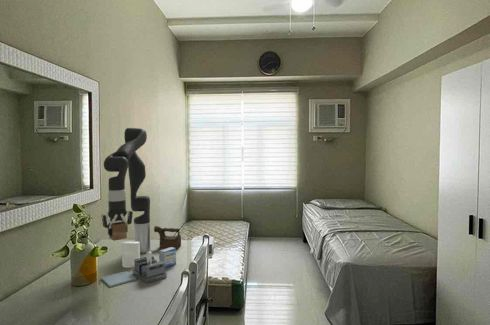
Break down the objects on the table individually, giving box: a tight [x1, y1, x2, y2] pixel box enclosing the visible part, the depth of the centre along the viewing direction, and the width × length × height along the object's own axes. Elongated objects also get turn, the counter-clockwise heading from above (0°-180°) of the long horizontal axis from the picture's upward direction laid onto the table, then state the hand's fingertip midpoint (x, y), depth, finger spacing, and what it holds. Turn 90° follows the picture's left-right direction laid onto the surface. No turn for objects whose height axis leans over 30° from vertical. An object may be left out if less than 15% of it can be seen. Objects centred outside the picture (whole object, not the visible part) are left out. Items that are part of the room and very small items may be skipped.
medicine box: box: [158, 247, 177, 269], centre depth 168 cm, size 8×4×9 cm, turn 143°
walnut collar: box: [108, 221, 128, 241], centre depth 149 cm, size 6×6×7 cm
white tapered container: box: [121, 240, 141, 269], centre depth 169 cm, size 9×9×12 cm
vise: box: [132, 250, 168, 284], centre depth 155 cm, size 16×10×12 cm, turn 41°
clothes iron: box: [153, 225, 182, 251], centre depth 198 cm, size 8×16×13 cm, turn 83°
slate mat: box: [100, 270, 137, 288], centre depth 150 cm, size 12×12×1 cm
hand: (117, 234), depth 149 cm, fingers closed on walnut collar, 6 cm apart
